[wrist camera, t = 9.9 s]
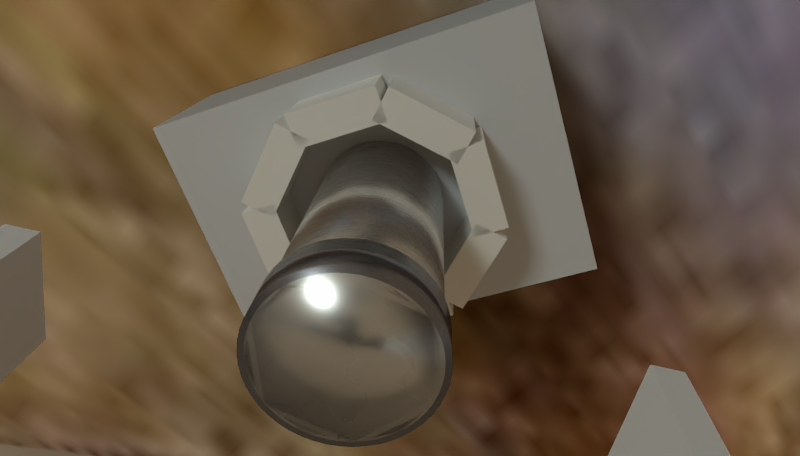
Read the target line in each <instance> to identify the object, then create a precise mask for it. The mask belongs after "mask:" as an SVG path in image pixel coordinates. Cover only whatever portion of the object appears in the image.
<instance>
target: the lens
mask: <svg viewBox="0 0 800 456" xmlns="http://www.w3.org/2000/svg"><path fill="white" fill-rule="evenodd" d="M237 359H238V366H239V369H240V373H241V376H242V379H243V381H244V383H245V386H246V388H247V389H248V391H249V393H250V394H251V396H252V397H253V399H254V400H255V401H256V403H257V404H258V405H259V406H260V407H261V408H262V409H263V410H264V411H265V412H266V413H267V414H268V415H269V416H270V417H271V418H272V419H274V420H275V421H276V422H277V423H279V424H280V425H282V426H283V427H285V428H287V429H288V430H290V431H292V432H294V433H296V434H298V435H300V436H302V437H305V438H308V439H310V440H313V441H317V442H320V443H324V444H329V445H336V446H348V447H358V446H370V445H376V444H381V443H385V442H388V441H392V440H394V439H397V438H399V437H402V436H404V435H406V434H408V433H409V432H411V431H413V430H415V429H416V428H417V427H419V426H420V425H422V424H423V423H424V422H425V421H426V420H427V419H428V418H429V417H430V416H431V415H432V414H433V413H434V412H435V411H436V409H437V408H438V407H439V406H440V404H441V402H442V400H443V399H444V397H445V395H446V392H447V390H448V387H449V385H450V380H451V375H452V363H453V359H452V329H451V318H450V312H449V309H448V305H447V302H446V300H445V289H444V229H443V193H442V188H441V184H440V181H439V178H438V176H437V174H436V172H435V171H434V169H433V168H432V166H431V165H430V164H429V163H428V162H427V161H426V159H425V158H424V157H422V156H421V155H420V154H418V153H417V152H416V151H414V150H412V149H411V148H409V147H406V146H404V145H401V144H398V143H394V142H388V141H372V142H367V143H362V144H359V145H357V146H354V147H352V148H350V149H349V150H347V151H345V152H344V153H343V154H341V155H340V156H339V157H338V158H337V159H336V160H335V161H334V162H333V164H332V165H331V166H330V168H329V170H328V171H327V173H326V175H325V177H324V179H323V181H322V183H321V185H320V187H319V189H318V191H317V192H316V194H315V196H314V198H313V200H312V202H311V204H310V206H309V208H308V210H307V212H306V214H305V216H304V218H303V220H302V221H301V223H300V225H299V227H298V229H297V231H296V233H295V235H294V237H293V239H292V241H291V243H290V245H289V247H288V248H287V250H286V252H285V254H284V256H283V258H282V260H281V261H280V262H279V263H278V264H277V265H276V266H275V267H274V268H273V269H272V270H271V271H270V273H269V274H268V275H267V276H266V278H265V280H264V281H263V283H262V285H261V287H260V289H259V290H258V292H257V294H256V296H255V298H254V300H253V302H252V303H251V305H250V307H249V309H248V311H247V313H246V315H245V316H244V318H243V321H242V324H241V326H240V329H239V334H238V339H237Z"/></svg>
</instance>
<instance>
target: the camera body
mask: <svg viewBox="0 0 800 456" xmlns="http://www.w3.org/2000/svg"><path fill="white" fill-rule="evenodd" d="M153 130H154V132H155V134H156V136H157V138H158V141H159V143H160V145H161V147H162V149H163V151H164V153H165V155H166V157H167V159H168V161H169V163H170V165H171V167H172V169H173V171H174V173H175V176H176V178H177V180H178V182H179V184H180V186H181V188H182V190H183V192H184V194H185V196H186V198H187V200H188V202H189V204H190V206H191V209H192V211H193V213H194V215H195V217H196V219H197V221H198V223H199V225H200V227H201V229H202V231H203V233H204V235H205V237H206V239H207V242H208V244H209V246H210V248H211V250H212V252H213V254H214V256H215V258H216V260H217V262H218V264H219V266H220V268H221V270H222V272H223V275H224V277H225V279H226V281H227V283H228V285H229V287H230V289H231V291H232V293H233V295H234V297H235V299H236V301H237V303H238V305H239V308H240V310H241V312H242V314H243V316H245V315H246V313H247V311H248V309H249V307H250V305H251V303H252V302H253V300H254V298H255V296H256V294H257V292H258V290H259V289H260V287H261V285H262V283H263V281H264V280H265V278H266V276H267V275H268V274H269V273H270V271H271V270H272V269H273V268H274V267H275V266H276V265H277V264H278V263H279V262H280V261H281V260H282V258H283V256H284V254H285V252H286V250H287V248H288V247H289V245H290V243H291V241H292V239H293V237H294V235H295V233H296V231H297V229H298V227H299V225H300V223H301V221H302V220H303V218H304V216H305V214H306V212H307V210H308V208H309V206H310V204H311V202H312V200H313V198H314V196H315V194H316V192H317V191H318V189H319V187H320V185H321V183H322V181H323V179H324V177H325V175H326V173H327V171H328V170H329V168H330V166H331V165H332V164H333V162H334V161H335V160H336V159H337V158H338V157H339V156H340V155H341V154H343V153H344V152H345V151H347V150H349V149H350V148H352V147H354V146H357V145H359V144H362V143H367V142H372V141H388V142H394V143H398V144H401V145H404V146H406V147H409V148H411V149H412V150H414V151H416V152H417V153H418V154H420V155H421V156H422V157H424V158H425V159H426V161H427V162H428V163H429V164H430V165H431V166H432V168H433V169H434V171H435V172H436V174H437V176H438V178H439V181H440V184H441V188H442V193H443V229H444V289H445V300H446V302H447V305H448V309H449V312H450V316H452V315H453V304H454V305H456V306H458V307H460V308H462V309H463V307H464V306H465V304H466V303H467V301H469V300H473V299H477V298H481V297H485V296H489V295H493V294H497V293H501V292H505V291H510V290H514V289H518V288H522V287H526V286H530V285H534V284H538V283H542V282H546V281H550V280H554V279H558V278H562V277H566V276H570V275H574V274H578V273H582V272H586V271H590V270H594V269H597V265H596V261H595V257H594V252H593V248H592V244H591V239H590V235H589V231H588V227H587V222H586V218H585V214H584V210H583V205H582V201H581V197H580V192H579V188H578V184H577V180H576V175H575V171H574V167H573V162H572V158H571V154H570V150H569V145H568V141H567V137H566V133H565V128H564V124H563V120H562V115H561V111H560V107H559V103H558V98H557V94H556V90H555V85H554V81H553V77H552V73H551V68H550V64H549V60H548V56H547V51H546V47H545V43H544V38H543V34H542V30H541V26H540V21H539V17H538V13H537V8H536V4H535V1H534V0H491V1H488V2H485V3H482V4H479V5H476V6H473V7H470V8H467V9H464V10H461V11H458V12H455V13H452V14H449V15H446V16H443V17H440V18H438V19H435V20H432V21H429V22H426V23H423V24H420V25H417V26H414V27H411V28H408V29H405V30H402V31H399V32H396V33H393V34H390V35H387V36H384V37H381V38H378V39H376V40H373V41H370V42H367V43H364V44H361V45H358V46H355V47H352V48H349V49H346V50H343V51H340V52H337V53H334V54H331V55H328V56H325V57H322V58H319V59H316V60H314V61H311V62H308V63H305V64H302V65H299V66H296V67H293V68H290V69H287V70H284V71H281V72H278V73H275V74H272V75H269V76H266V77H263V78H260V79H257V80H255V81H252V82H249V83H246V84H243V85H240V86H237V87H234V88H231V89H228V90H225V91H222V92H219V93H216V94H213V95H210V96H209V97H207V98H205V99H203V100H202V101H200V102H198V103H196V104H195V105H193V106H191V107H189V108H187V109H186V110H184V111H182V112H180V113H179V114H177V115H175V116H173V117H172V118H170V119H168V120H166V121H165V122H163V123H161V124H159V125H158V126H156V127H154V128H153Z"/></svg>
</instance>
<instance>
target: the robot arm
mask: <svg viewBox="0 0 800 456" xmlns="http://www.w3.org/2000/svg"><path fill="white" fill-rule="evenodd" d="M45 339H46V336H45V315H44V294H43V272H42V251H41V232H39V231H34V230H29V229H25V228H20V227H16V226H11V225H7V224H4V225H2V226H1V227H0V382H1V381H2V380H3V379H5V378H6V377H7V376H8V375H9V374H10V373H11V372H12V371H13V370H14V369H15V368H16V367H17V366H18V365H19V364H20V363H21V362H22V361H23V360H24V359H25V358H26V357H27V356H28V355H29V354H30V353H32V352H33V351H34V350H35V349H36V348H37V347H38V346H39V345H40V344H41V343H42V342H43V341H44V340H45ZM608 456H731V455H730V453H729V452H728V450H727V448H726V446H725V444H724V442H723V441H722V439H721V437H720V435H719V433H718V431H717V430H716V428H715V426H714V424H713V422H712V421H711V419H710V417H709V415H708V413H707V411H706V410H705V408H704V406H703V404H702V402H701V400H700V399H699V397H698V395H697V393H696V391H695V389H694V388H693V386H692V384H691V382H690V380H689V378H688V377H687V375H686V373H685V372H681V371H677V370H672V369H668V368H663V367H658V366H654V365H650V366H649V368H648V370H647V373H646V375H645V377H644V379H643V381H642V383H641V385H640V388H639V390H638V392H637V394H636V396H635V398H634V400H633V403H632V405H631V407H630V409H629V411H628V413H627V416H626V418H625V420H624V422H623V424H622V426H621V428H620V431H619V433H618V435H617V437H616V439H615V441H614V443H613V446H612V448H611V450H610V452H609V454H608Z"/></svg>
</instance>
